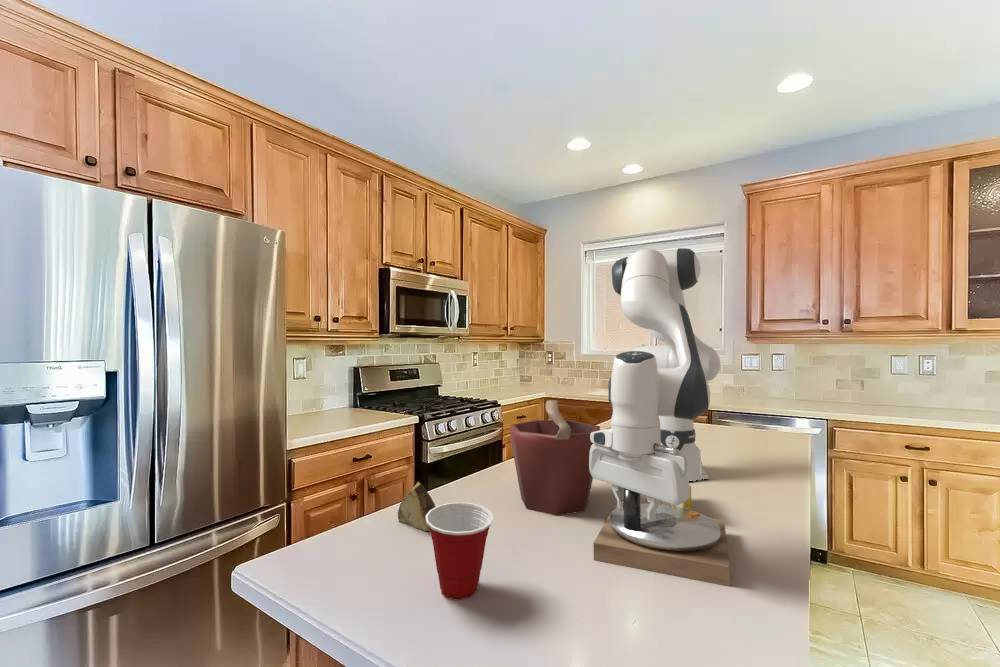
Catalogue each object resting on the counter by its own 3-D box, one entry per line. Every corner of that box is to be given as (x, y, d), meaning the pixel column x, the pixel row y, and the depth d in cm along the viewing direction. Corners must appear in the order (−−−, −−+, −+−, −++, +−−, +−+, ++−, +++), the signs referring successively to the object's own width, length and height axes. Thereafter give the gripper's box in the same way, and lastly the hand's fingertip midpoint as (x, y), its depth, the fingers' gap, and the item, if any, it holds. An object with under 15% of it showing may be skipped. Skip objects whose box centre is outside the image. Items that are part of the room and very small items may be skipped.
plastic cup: (435, 617, 65) (435, 532, 65) (417, 581, 75) (417, 507, 75) (504, 600, 69) (504, 520, 69) (479, 568, 79) (479, 498, 79)
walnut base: (615, 518, 102) (615, 504, 102) (724, 534, 93) (724, 519, 93) (593, 559, 82) (593, 543, 82) (729, 586, 73) (729, 567, 73)
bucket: (591, 526, 97) (590, 409, 98) (493, 514, 104) (493, 405, 105) (603, 492, 120) (602, 397, 121) (522, 484, 128) (522, 394, 128)
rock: (383, 510, 100) (394, 519, 92) (405, 475, 104) (418, 481, 95) (422, 534, 103) (437, 545, 94) (443, 499, 107) (458, 507, 98)
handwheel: (663, 504, 101) (663, 465, 101) (745, 538, 83) (744, 491, 83) (589, 518, 93) (589, 476, 93) (661, 560, 74) (661, 507, 75)
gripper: (697, 447, 78) (697, 529, 78) (605, 428, 94) (606, 495, 94) (675, 453, 74) (675, 538, 74) (583, 432, 91) (584, 501, 91)
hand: (635, 514), depth 84 cm, fingers open, 4 cm apart
